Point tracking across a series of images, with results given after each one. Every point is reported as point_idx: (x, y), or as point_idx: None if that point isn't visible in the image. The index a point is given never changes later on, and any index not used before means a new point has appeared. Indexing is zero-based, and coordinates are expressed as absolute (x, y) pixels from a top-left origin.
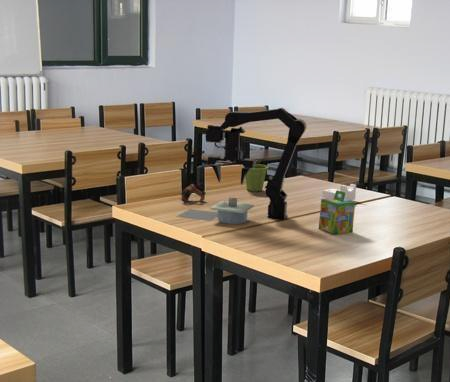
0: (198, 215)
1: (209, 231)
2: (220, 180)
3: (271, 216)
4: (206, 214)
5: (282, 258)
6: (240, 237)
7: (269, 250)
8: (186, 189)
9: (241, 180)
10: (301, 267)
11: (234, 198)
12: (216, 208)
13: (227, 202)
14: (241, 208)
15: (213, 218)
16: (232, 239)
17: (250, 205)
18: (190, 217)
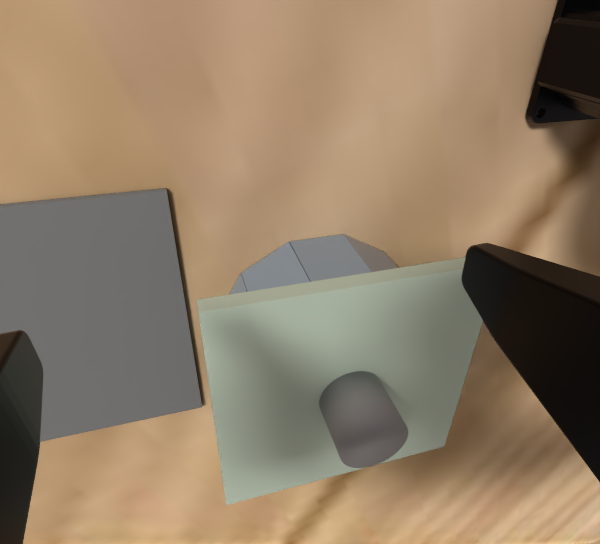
0: (48, 363)
1: (282, 503)
2: (17, 346)
3: (559, 105)
4: (79, 308)
5: (541, 521)
6: (417, 480)
7: (513, 505)
8: None
9: (514, 351)
10: (574, 530)
11: (384, 434)
12: (269, 490)
13: (273, 337)
14: (422, 409)
15: (193, 362)
16: (395, 508)
17: (474, 310)
18: (43, 428)
